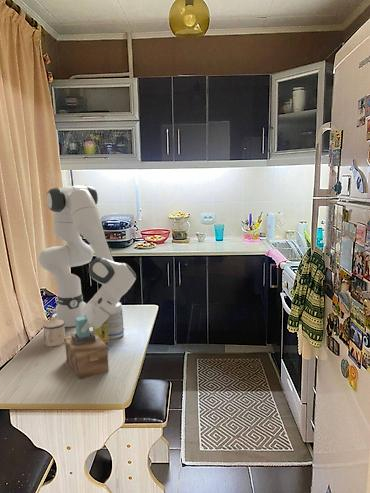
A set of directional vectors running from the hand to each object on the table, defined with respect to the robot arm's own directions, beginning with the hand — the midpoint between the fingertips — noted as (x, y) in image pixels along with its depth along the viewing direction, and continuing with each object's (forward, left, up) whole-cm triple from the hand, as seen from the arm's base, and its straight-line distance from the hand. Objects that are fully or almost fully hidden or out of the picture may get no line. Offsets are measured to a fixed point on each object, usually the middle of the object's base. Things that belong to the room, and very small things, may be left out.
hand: (80, 328), depth 159 cm
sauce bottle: (-13, +12, -15) cm, 23 cm away
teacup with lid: (-26, -5, -15) cm, 30 cm away
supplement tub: (-20, +20, -15) cm, 32 cm away
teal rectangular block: (0, +1, -4) cm, 4 cm away
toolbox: (+2, +1, -14) cm, 15 cm away
